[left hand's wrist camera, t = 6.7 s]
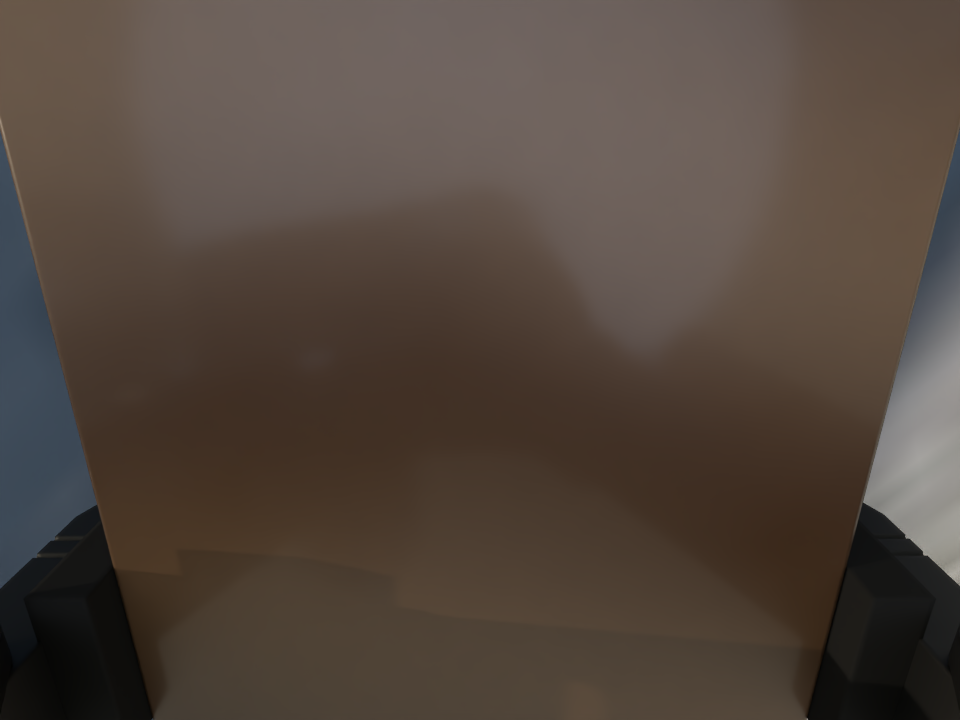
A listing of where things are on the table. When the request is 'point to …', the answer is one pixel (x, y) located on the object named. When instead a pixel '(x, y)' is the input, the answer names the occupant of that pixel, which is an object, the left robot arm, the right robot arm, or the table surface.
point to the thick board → (479, 335)
